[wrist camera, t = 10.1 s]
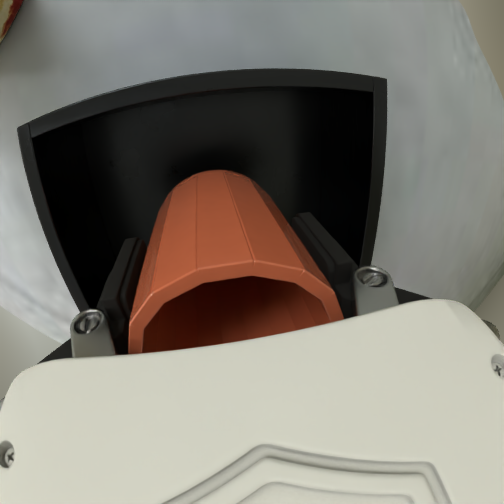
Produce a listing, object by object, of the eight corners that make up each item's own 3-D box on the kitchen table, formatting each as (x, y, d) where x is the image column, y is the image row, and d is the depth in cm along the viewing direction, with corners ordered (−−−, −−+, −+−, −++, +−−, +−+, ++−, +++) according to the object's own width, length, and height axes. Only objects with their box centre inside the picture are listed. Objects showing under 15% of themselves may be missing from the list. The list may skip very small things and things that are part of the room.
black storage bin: (124, 296, 21) (109, 361, 15) (73, 114, 13) (16, 127, 8) (321, 265, 23) (358, 320, 17) (325, 80, 15) (387, 78, 10)
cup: (171, 283, 15) (166, 413, 8) (146, 180, 12) (92, 284, 5) (276, 267, 16) (328, 385, 9) (272, 162, 13) (358, 243, 6)
